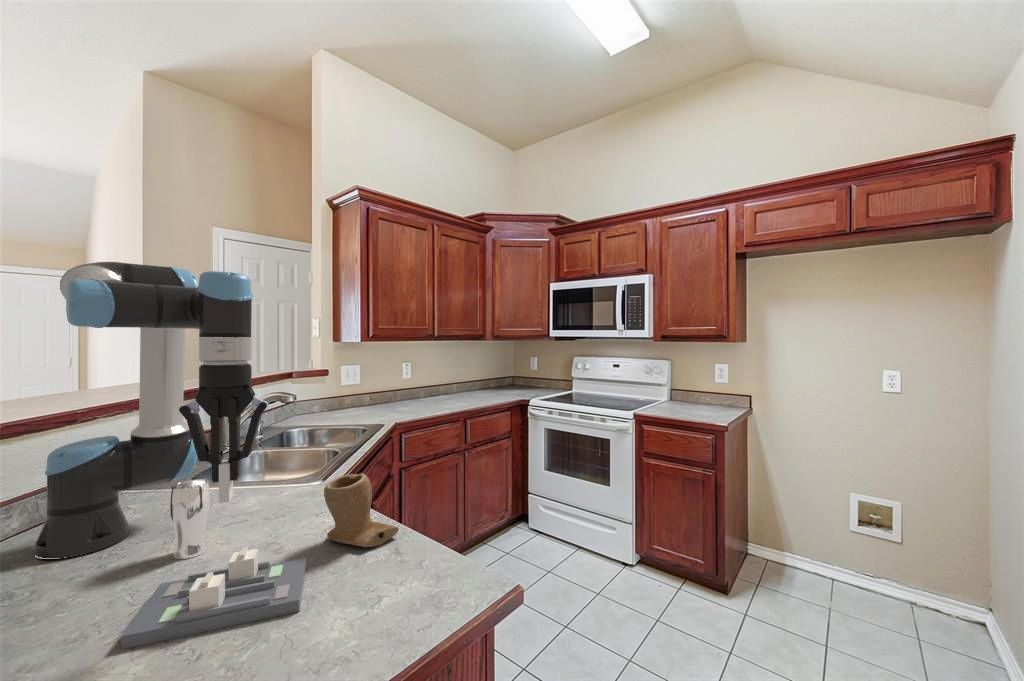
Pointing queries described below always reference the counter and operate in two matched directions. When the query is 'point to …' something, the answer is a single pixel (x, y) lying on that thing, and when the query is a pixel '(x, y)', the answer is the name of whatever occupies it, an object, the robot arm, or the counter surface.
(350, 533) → the clay platform pipe
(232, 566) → the tab
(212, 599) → the tab
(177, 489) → the beer glass
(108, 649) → the counter surface
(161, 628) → the switch board
